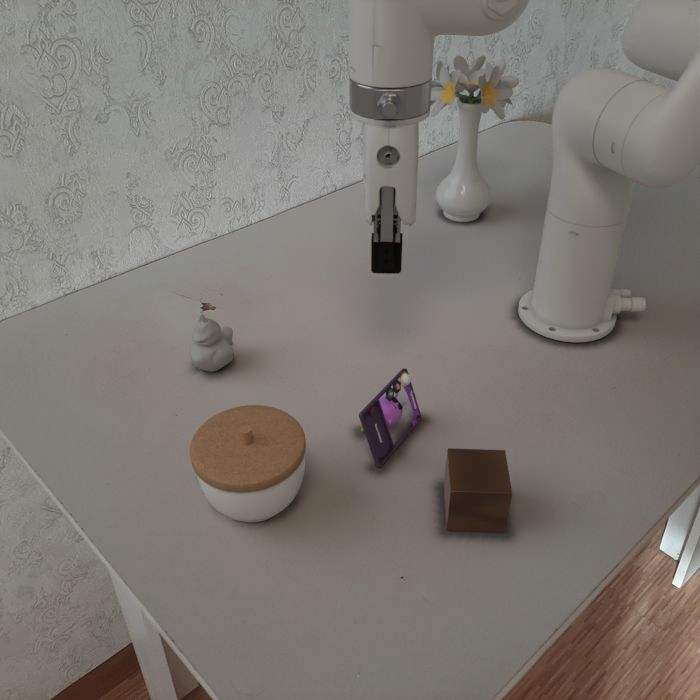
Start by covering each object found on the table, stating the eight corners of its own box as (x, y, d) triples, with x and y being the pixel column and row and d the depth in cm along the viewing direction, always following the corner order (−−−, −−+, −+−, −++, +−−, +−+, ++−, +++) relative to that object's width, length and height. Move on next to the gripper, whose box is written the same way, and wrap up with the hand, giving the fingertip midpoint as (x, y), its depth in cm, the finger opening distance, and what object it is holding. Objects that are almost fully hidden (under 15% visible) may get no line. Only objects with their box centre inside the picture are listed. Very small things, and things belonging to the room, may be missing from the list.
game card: (367, 415, 71) (412, 367, 77) (327, 410, 74) (373, 365, 80) (385, 469, 73) (427, 419, 79) (346, 462, 77) (389, 415, 83)
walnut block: (498, 489, 72) (505, 449, 68) (505, 533, 67) (512, 493, 64) (443, 487, 72) (447, 447, 69) (446, 531, 67) (450, 491, 64)
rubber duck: (180, 369, 88) (170, 315, 83) (217, 342, 92) (209, 290, 87) (213, 384, 85) (204, 330, 80) (249, 356, 90) (242, 303, 85)
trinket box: (205, 463, 75) (192, 395, 69) (307, 456, 76) (302, 387, 70) (196, 546, 66) (180, 476, 61) (311, 537, 67) (306, 467, 61)
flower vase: (511, 196, 126) (530, 47, 111) (483, 243, 112) (501, 80, 97) (440, 185, 130) (449, 39, 115) (405, 229, 117) (411, 70, 102)
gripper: (433, 125, 60) (422, 308, 71) (428, 73, 72) (419, 237, 83) (344, 124, 60) (347, 307, 71) (353, 73, 72) (355, 236, 83)
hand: (386, 269), depth 77 cm, fingers closed
